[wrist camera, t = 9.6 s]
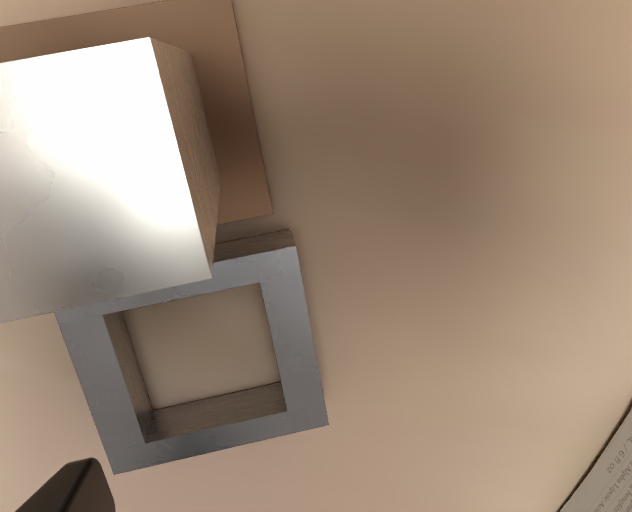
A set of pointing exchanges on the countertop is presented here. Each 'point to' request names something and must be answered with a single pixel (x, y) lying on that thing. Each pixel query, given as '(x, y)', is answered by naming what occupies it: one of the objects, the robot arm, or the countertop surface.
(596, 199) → the countertop surface
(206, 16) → the walnut pad
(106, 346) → the square metal frame
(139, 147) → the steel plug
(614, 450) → the skincare box
